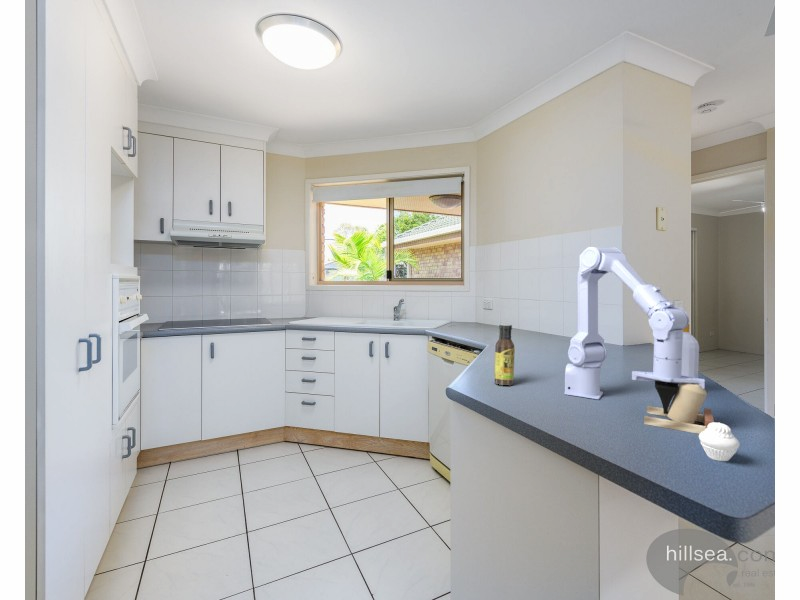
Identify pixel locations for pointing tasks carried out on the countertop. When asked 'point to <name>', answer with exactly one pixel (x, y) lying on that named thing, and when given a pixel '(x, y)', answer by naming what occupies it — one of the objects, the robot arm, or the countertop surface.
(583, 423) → the countertop surface
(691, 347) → the soap bottle
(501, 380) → the sauce bottle
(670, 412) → the candle
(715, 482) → the countertop surface
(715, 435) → the muffin
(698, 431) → the channel
